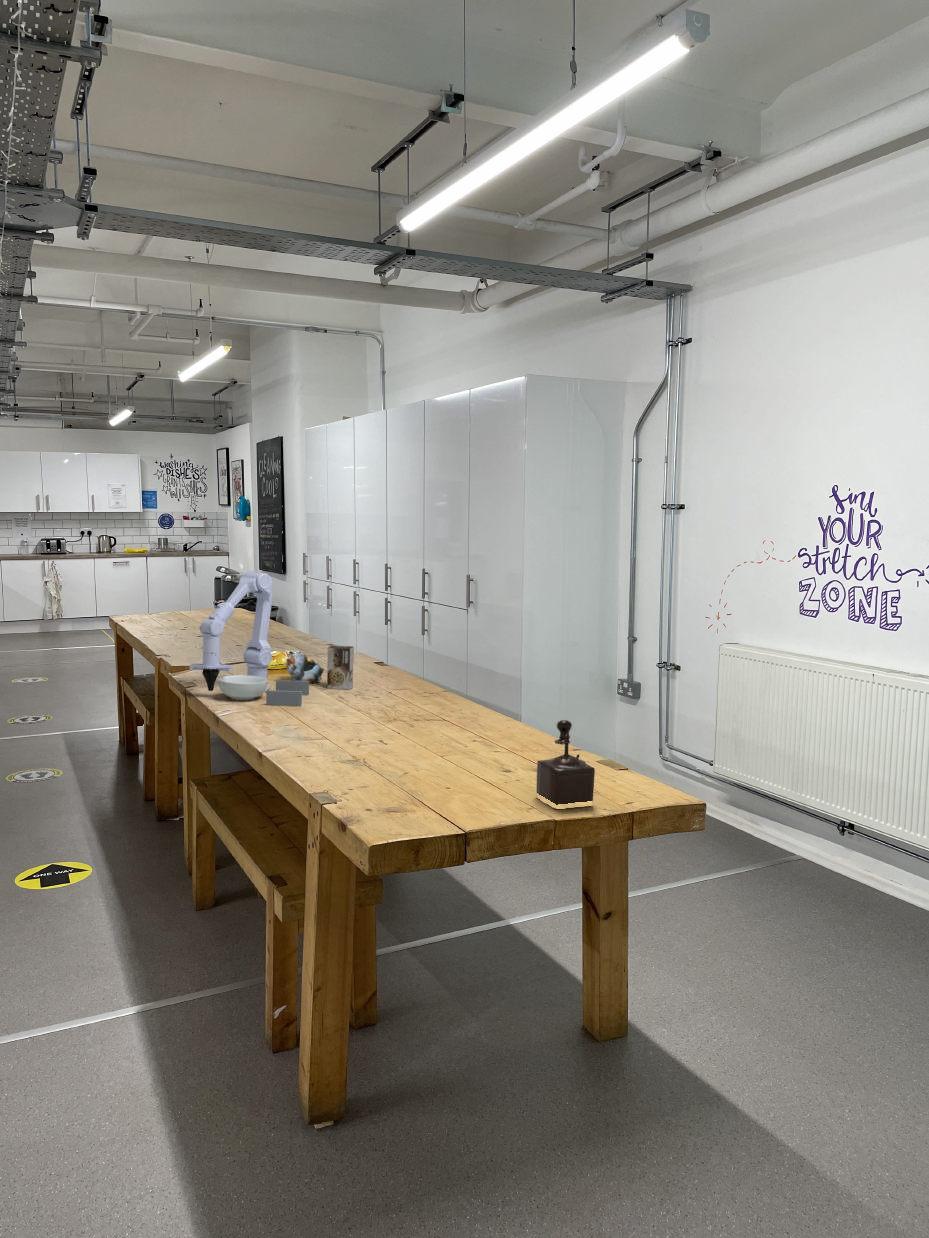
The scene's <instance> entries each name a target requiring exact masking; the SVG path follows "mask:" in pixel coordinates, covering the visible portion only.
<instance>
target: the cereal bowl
mask: <svg viewBox="0 0 929 1238" xmlns="http://www.w3.org/2000/svg"><path fill="white" fill-rule="evenodd" d="M267 686H268V681H267V679H266V678H263V677H258V676H247V675H246V674H245V675H242V674H241V675H239V674H238V675H237V674H236V675H235V674H234V675H233V674H232V675H224V676H221V677H219V679H218V687H219V690H220V691H221V692H222V694H224V695H225V696H228V697H230V699H231V700H234V699H235V701H251V700H254V699H255V698H256V697H259V696H261V695H263V694H264V693H266V692H265V690H266V687H267Z"/></svg>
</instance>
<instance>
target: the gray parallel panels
mask: <svg viewBox="0 0 929 1238" xmlns="http://www.w3.org/2000/svg"><path fill="white" fill-rule="evenodd" d="M265 693H266V695H265V697H266V699H265V704H266V706H280V707H282V706H285V707H302V701H303V700H302V699H303V696H309V695H310V684H309V681H298V680H293V679H292V680H289V679H288V680H286V679H275V690H271V689H270V690H269V689H268V690H267V691H266V692H265Z"/></svg>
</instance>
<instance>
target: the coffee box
mask: <svg viewBox="0 0 929 1238" xmlns="http://www.w3.org/2000/svg"><path fill="white" fill-rule="evenodd" d="M354 648H355V647H354V646H350V645H330V646H329V647H327V665H326V666H327V671H326V672H327V674H326V675H327V676H326V678H327V679H326V688H328V690H331V689H332V690H333V689H334V690H349V691H350V690H351V689H352V688H353V687H354V684H353V683H354Z"/></svg>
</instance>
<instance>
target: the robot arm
mask: <svg viewBox="0 0 929 1238" xmlns="http://www.w3.org/2000/svg"><path fill="white" fill-rule="evenodd" d="M272 586H273V579H272V578H271V576H270V575H269V574H267V573H266V572H262V573H261V572H253V571H246V572H244V573H243V575H242V576H241V577H239V583H238V585H237V586H236V587H235V588H234V590H233V592H232V593H231V594H230V596H229V597H228V599H227V600H226V601H225V602H221V603H218V604H217V605H216V608H215V610H214V611H213V612H211V614H210V615H209V616H208V618H204V619H203V620H202V622H200V623H201V624H200V626H199V630H200V633H201V635H202V637H201V638H202V663H190V664H189V671H194V670H196V671H197V670H198V671H202V672H201V674H202V675H203V677H204V679H205V682H206V686H207V690H208V692H212V691H214V688H215V684H216V680H217V678H218V676H219V675H220V672H221V671H223V672H224V671H226V672H232V671H233V664H223V663H220V662H221V661H220V660H221V659H220V658H221V657H220V655H221V651H220V650H221V649H220V648H221V635H222V633H224V629H225V625H226V624H227V622H228V621H229V619H230V618H231V617H232V616H233V615H234V613H235V607H236V606H237V605H238V604H239V603H240V602H241V601H242V599H244V598H245V597H246V595H247V594H250V593H252V594H253V595H254V596H255V597H256V604H255V605H256V606H255V613H254V621H253V627H252V636H251V640H250V641H248V642H247V644H246V648H245V649H244V651H243V655H242V657H243V661H244V662H245V664H246V666H247V667H246V668H247V671H246V673H247V676H258V677H263V678H266V679H267V682H268V667H269V665H270V664H271V663H272V659H273V657H272V655H273V654H272V647H271V645H270V644H269V642H268V634H269V627H270V619H271V613H272V603H273V598H274V597H273V596H274V594H273V589H272V588H273V587H272ZM270 688H271V685H267V687H266V690H265V692H264V693H266V691H267V690H269V689H270Z"/></svg>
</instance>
